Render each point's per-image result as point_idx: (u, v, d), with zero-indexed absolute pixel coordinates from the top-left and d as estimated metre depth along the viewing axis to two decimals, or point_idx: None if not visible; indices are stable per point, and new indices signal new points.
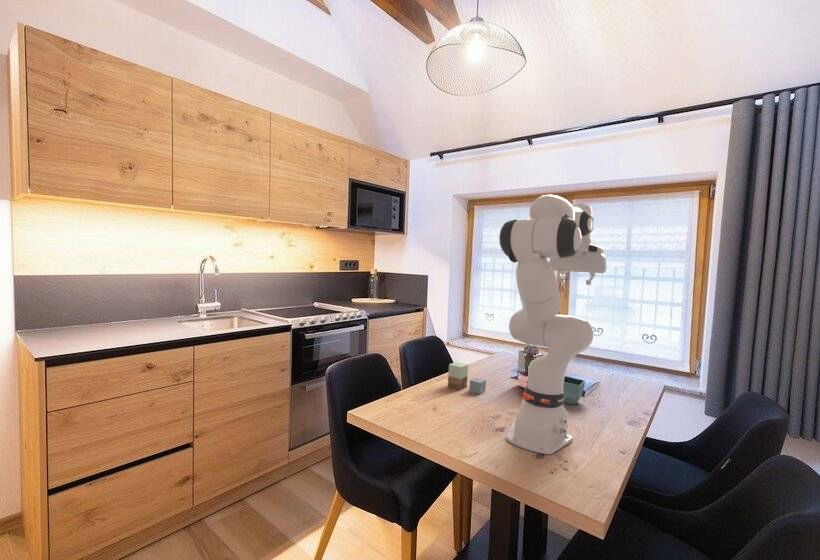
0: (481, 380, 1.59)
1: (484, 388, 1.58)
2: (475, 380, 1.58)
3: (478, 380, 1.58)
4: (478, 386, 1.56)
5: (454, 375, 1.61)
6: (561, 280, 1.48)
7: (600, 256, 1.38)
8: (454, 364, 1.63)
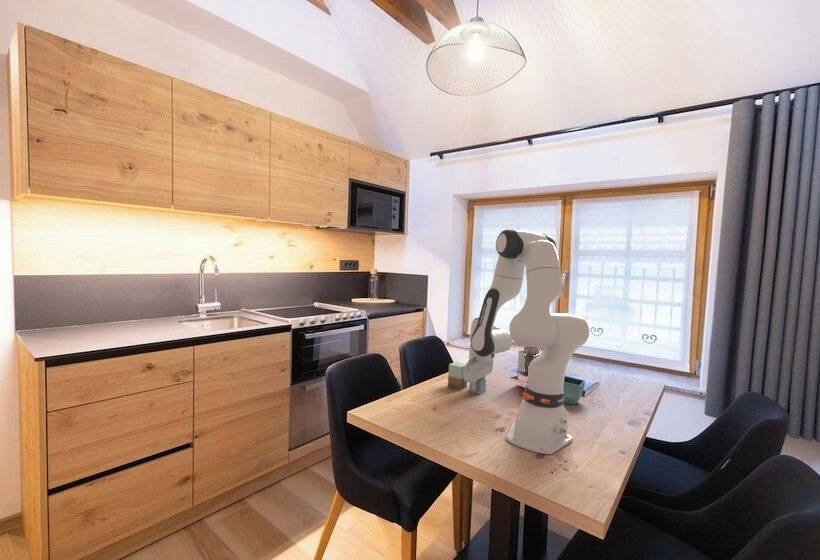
0: (481, 380, 1.59)
1: (484, 388, 1.58)
2: None
3: (478, 380, 1.58)
4: (478, 386, 1.56)
5: (454, 375, 1.61)
6: (476, 388, 1.55)
7: None
8: (454, 364, 1.63)
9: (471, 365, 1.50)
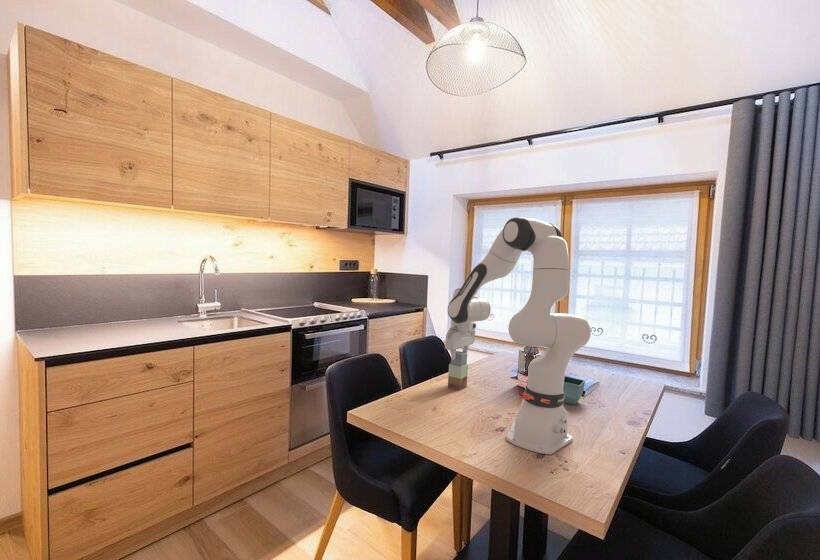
0: (462, 353, 1.62)
1: (465, 361, 1.62)
2: (456, 353, 1.62)
3: (459, 353, 1.62)
4: (459, 358, 1.60)
5: (454, 375, 1.61)
6: (455, 357, 1.58)
7: (474, 331, 1.67)
8: None
9: (452, 333, 1.54)
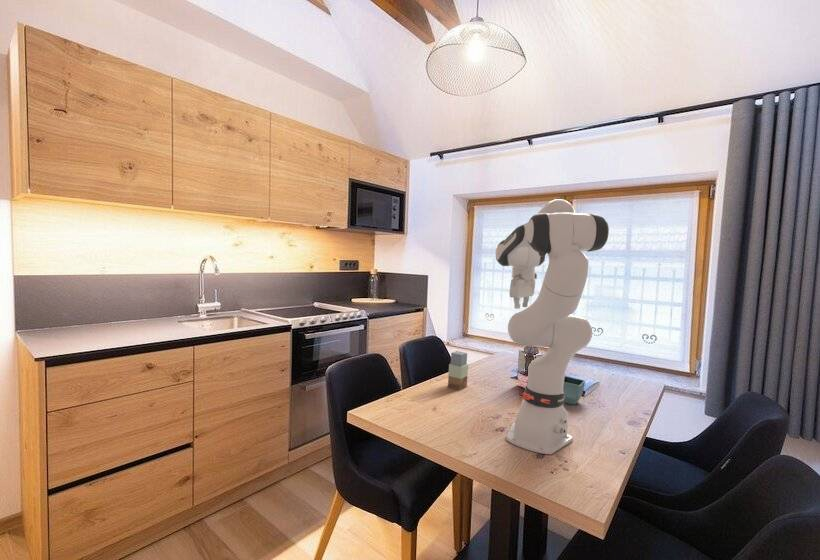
0: (462, 353, 1.63)
1: (465, 360, 1.62)
2: (456, 353, 1.62)
3: (459, 353, 1.62)
4: (459, 358, 1.60)
5: (454, 375, 1.61)
6: (519, 306, 1.52)
7: None
8: None
9: (517, 280, 1.48)
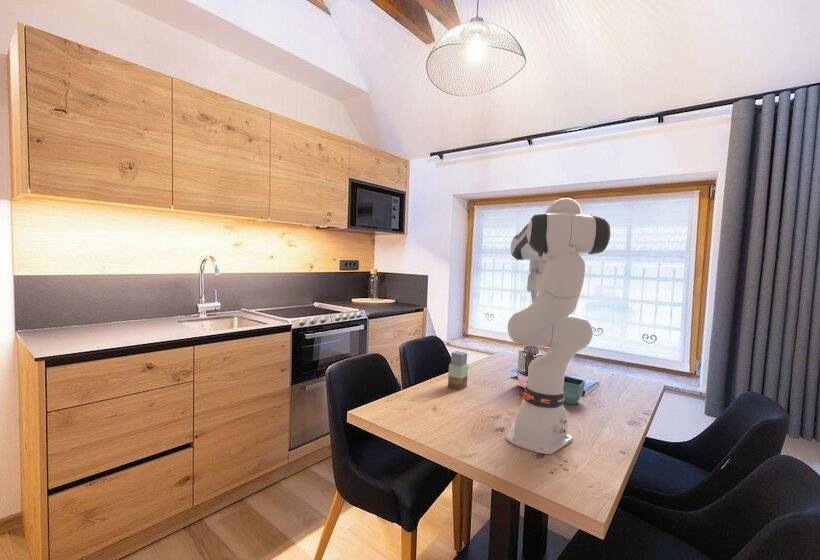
0: (462, 353, 1.63)
1: (465, 360, 1.63)
2: (456, 353, 1.62)
3: (459, 353, 1.62)
4: (459, 358, 1.60)
5: (454, 375, 1.61)
6: None
7: None
8: None
9: (535, 274, 1.47)
